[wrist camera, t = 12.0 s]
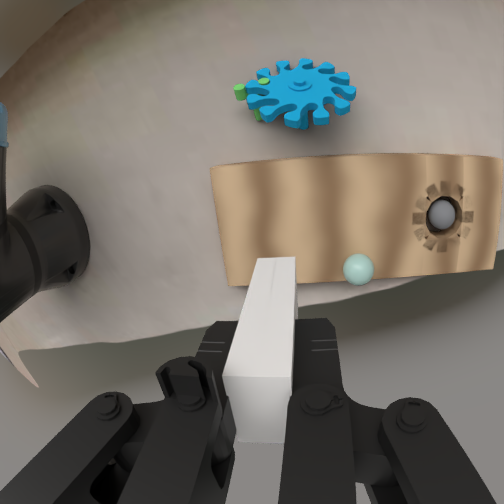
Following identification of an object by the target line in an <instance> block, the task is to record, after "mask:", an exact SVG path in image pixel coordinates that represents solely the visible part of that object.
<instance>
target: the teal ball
mask: <svg viewBox="0 0 504 504" xmlns="http://www.w3.org/2000/svg"><path fill="white" fill-rule="evenodd" d="M343 274H344V277H345V278H346V280H347V281H348V282H349V283H351V284H353V285H358V286H359V285H364V284H366V283H368V282H369V281H370V280H371V278H372V277H373V274H374V265H373V262H372V260H371V259H370V258H369V257H368V256H366V255H364V254H360V253H357V254H353V255H351V256H350V257H348V258H347V259H346V261H345V263H344V266H343Z"/></svg>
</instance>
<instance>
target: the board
mask: <svg viewBox="0 0 504 504" xmlns="http://www.w3.org/2000/svg"><path fill="white" fill-rule="evenodd" d="M210 174H211V180H212V187H213V194H214V201H215V207H216V214H217V220H218V226H219V233H220V239H221V245H222V251H223V257H224V263H225V269H226V275H227V281H228V286H247V285H250V282H251V279H252V275H253V272H254V269H255V265H256V262H257V259H258V258H276V257H295V258H296V278H297V283H316V282H334V281H347V280H346V278H345V277H344V274H343V266H344V263H345V261H346V259H347V258H348V257H350V256H351V255H353V254H357V253H360V254H364V255H366V256H368V257H369V258H370V259H371V260H372V262H373V265H374V274H373V277H372V278H371V279H382V278H396V277H409V276H422V275H434V274H445V273H456V272H467V271H477V270H487V269H493V266H494V260H495V254H496V247H497V240H498V232H499V223H500V213H501V199H502V175H503V159H499V158H495V157H489V156H475V155H456V154H424V153H380V154H346V155H325V156H309V157H295V158H283V159H272V160H262V161H252V162H243V163H234V164H226V165H218V166H215V167H212V168H210ZM440 196H448V197H449V198H450V201H451V203H452V205H453V208H454V211H455V219H454V222H453V224H452V225H451V226H450V227H448V228H446V229H442V230H440V231H429V230H428V228H427V226H426V212H427V210H428V208H429V206H430V204H431V203H432V202H433V201H434V200H436V199H437V198H439V197H440Z"/></svg>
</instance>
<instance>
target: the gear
mask: <svg viewBox="0 0 504 504" xmlns="http://www.w3.org/2000/svg"><path fill="white" fill-rule="evenodd" d="M276 66H277V71H278V72H279V74H278V75H277V76H271V75H270V70H269V69H268V68H263V69H261V70H258V71H257V72H256V73H257V78H258V81H256V80H251V81H249V82H248V83H247V84H246V86H244V84H237V85H235V86H234V91H235V95H236V99H237V100H239V101H242V100H245V99H246V100H247V104H248V107H249V109H251V110H253V109H254V114H255V118H256V120H258V121H260V120H262V119H263V120H264V121H266V122H267V123H268V122H272V121H273V120H274V119H275V118H276V117H277V116H278V115H280V114H282V113H284V112H288V111H291V112H288V113H286V114H285V115H284V122H285V125H286V126H288V127H292V128H300V129H302V130H305V129H307V128H308V111H309V110H315V111H314V112H313V123H314V124H315V125H326V124H329V113H328V111H326V110H325V109H324V107H323V105H324V104H327V103H329V104H333V105H334V106H335V113H336V114H337V115H340V116H341V115H344V114H346V113H348V112H350V103H349V102H348V101H353V100H354V98H355V96H356V87H354V86H349V79H350V77H349V75H348V73H347V72H340V73H337V74H334V73H335V67H334V66H333V65H332V64H330V63H328V62H324V63H322V64H321V65H320V66H319V67H317V68H313V61H312V60H310V59H304V58H302V59H300V60H299V65H298V66H297V67H296V68H295V69H293V70H290V65H289V61H278V62H276ZM312 68H313V69H312ZM245 88H246V89H245ZM335 94H340V95H342V97H343V98H344V99H346V100H344V99H341V98H339V97H337V96H336V95H335ZM347 100H348V101H347Z"/></svg>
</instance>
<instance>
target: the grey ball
mask: <svg viewBox="0 0 504 504" xmlns="http://www.w3.org/2000/svg"><path fill="white" fill-rule="evenodd" d="M428 218H429V221H430V223H431V224H432V225H433V226H434V227H435V228H438V229H446V228H448V227H450V226H451V225H452V224H453V222H454V219H455V211H454V208H453V206H452V205H451V204H450V203H449V202H448V201H446V200H436V201H434V202H433V203H432V204H431V205H430V207H429V210H428Z"/></svg>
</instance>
